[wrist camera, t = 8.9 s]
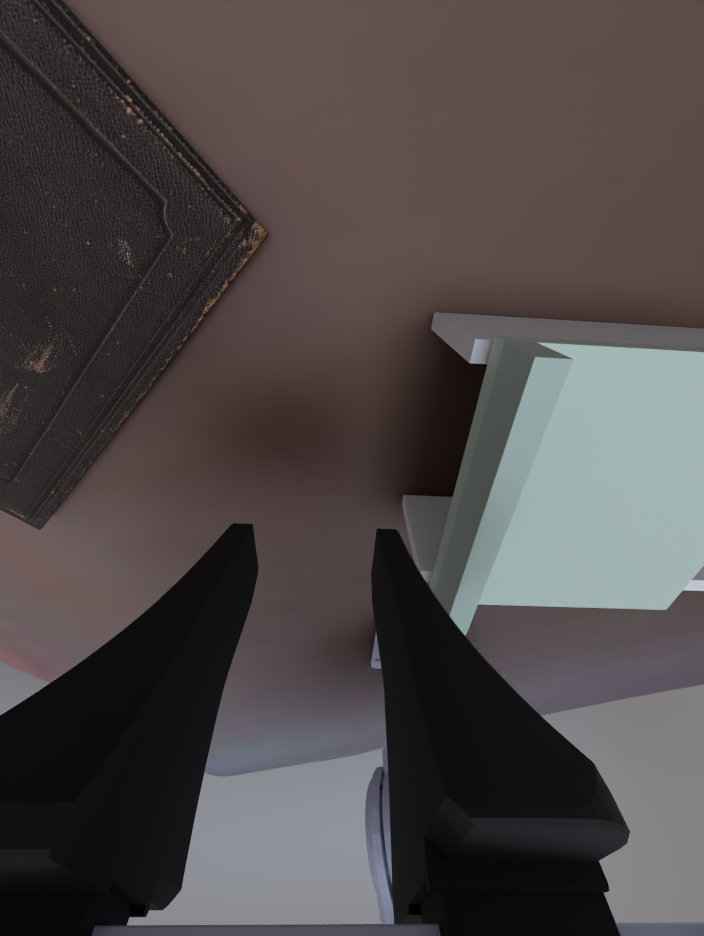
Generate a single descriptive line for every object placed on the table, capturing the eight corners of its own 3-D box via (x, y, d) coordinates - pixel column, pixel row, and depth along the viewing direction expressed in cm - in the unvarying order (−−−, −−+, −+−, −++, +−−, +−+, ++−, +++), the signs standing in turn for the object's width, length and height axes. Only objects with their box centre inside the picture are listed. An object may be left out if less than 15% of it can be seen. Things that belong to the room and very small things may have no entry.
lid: (654, 596, 18) (700, 648, 16) (428, 589, 18) (440, 641, 15) (846, 355, 11) (976, 382, 9) (494, 335, 11) (535, 357, 9)
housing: (760, 518, 24) (882, 596, 19) (401, 504, 23) (418, 581, 18) (917, 341, 18) (1172, 379, 12) (434, 312, 17) (475, 338, 11)
